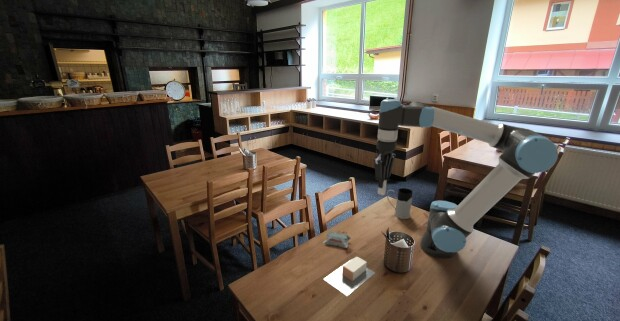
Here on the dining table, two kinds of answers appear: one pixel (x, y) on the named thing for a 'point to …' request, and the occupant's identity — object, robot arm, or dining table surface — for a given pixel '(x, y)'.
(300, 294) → the dining table surface
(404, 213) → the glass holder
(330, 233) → the packaged food
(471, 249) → the dining table surface
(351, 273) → the block
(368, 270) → the board
